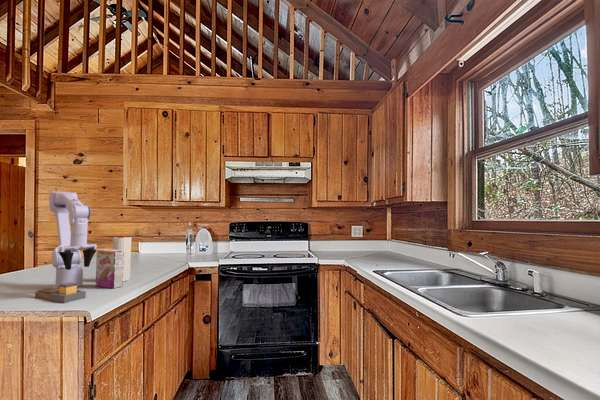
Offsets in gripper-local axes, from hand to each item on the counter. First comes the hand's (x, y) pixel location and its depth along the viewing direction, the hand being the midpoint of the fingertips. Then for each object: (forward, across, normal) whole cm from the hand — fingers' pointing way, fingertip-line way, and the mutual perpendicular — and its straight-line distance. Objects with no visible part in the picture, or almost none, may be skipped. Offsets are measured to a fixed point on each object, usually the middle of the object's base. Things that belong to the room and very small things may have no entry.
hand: (77, 268), depth 133 cm
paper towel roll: (+10, +24, +4) cm, 27 cm away
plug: (+10, -7, -5) cm, 13 cm away
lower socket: (+10, -7, -5) cm, 14 cm away
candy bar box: (+11, +14, -1) cm, 18 cm away
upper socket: (+10, -6, +4) cm, 13 cm away
